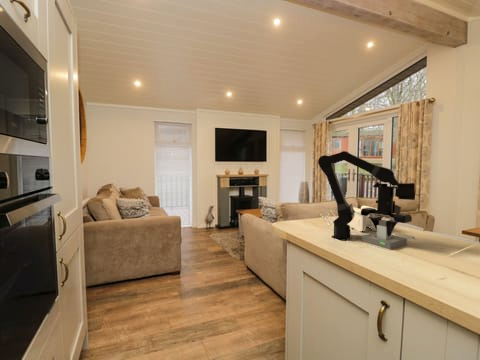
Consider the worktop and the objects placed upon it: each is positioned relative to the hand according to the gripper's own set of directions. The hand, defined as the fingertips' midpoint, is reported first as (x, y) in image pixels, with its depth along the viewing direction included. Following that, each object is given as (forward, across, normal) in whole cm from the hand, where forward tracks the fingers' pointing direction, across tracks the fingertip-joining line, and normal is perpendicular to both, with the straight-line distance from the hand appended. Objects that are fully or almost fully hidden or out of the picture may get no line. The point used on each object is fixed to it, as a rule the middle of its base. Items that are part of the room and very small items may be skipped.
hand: (384, 234), depth 108 cm
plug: (+2, 0, 0) cm, 2 cm away
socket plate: (+4, 0, 0) cm, 4 cm away
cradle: (+4, 0, -13) cm, 14 cm away
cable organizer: (+4, +19, -13) cm, 23 cm away
